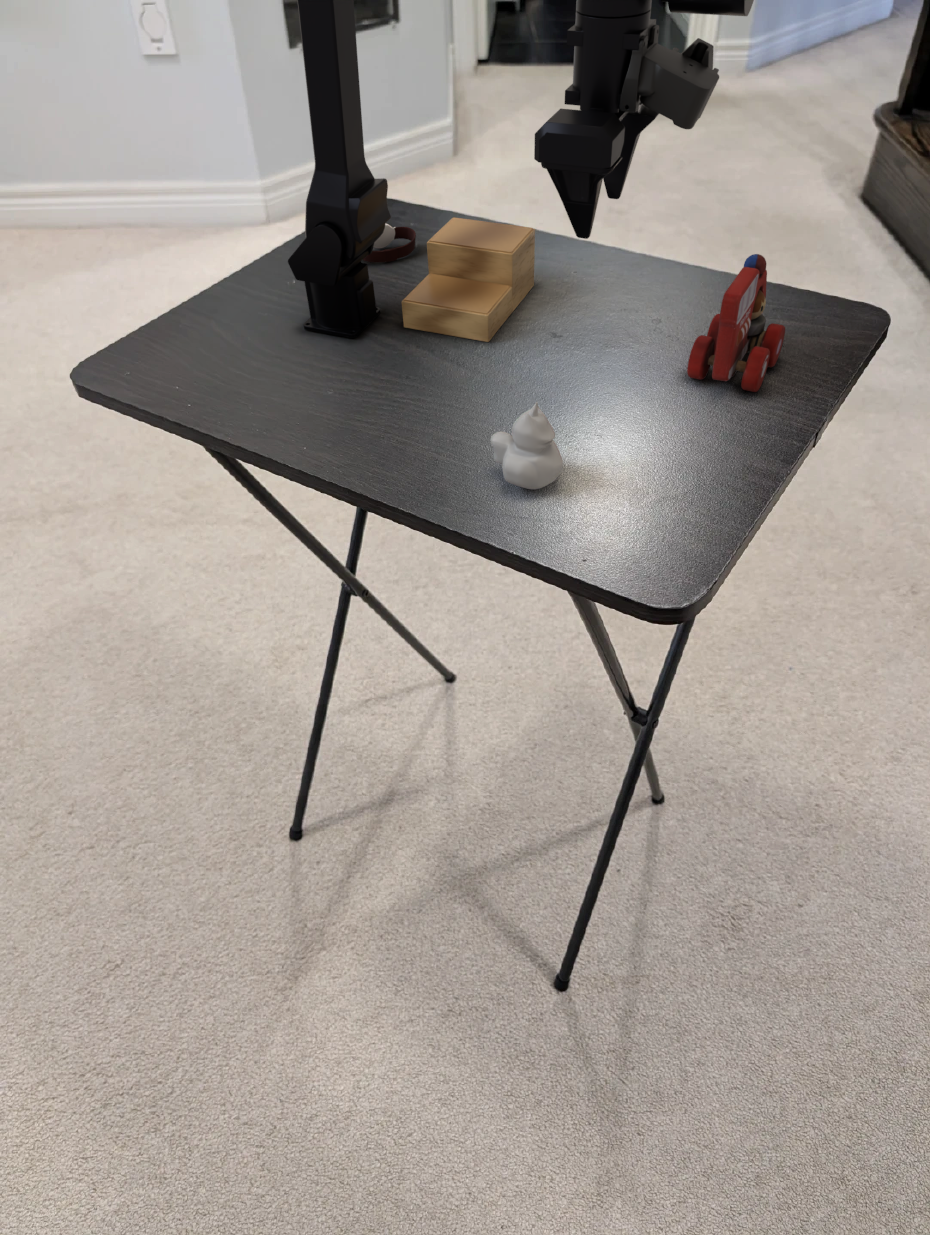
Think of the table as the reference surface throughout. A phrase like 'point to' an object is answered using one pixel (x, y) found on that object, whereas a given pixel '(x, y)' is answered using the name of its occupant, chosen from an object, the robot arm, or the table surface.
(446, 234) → the step shelf
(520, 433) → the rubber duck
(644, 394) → the table surface
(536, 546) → the table surface
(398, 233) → the watch
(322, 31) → the robot arm
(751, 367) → the toy fire truck
